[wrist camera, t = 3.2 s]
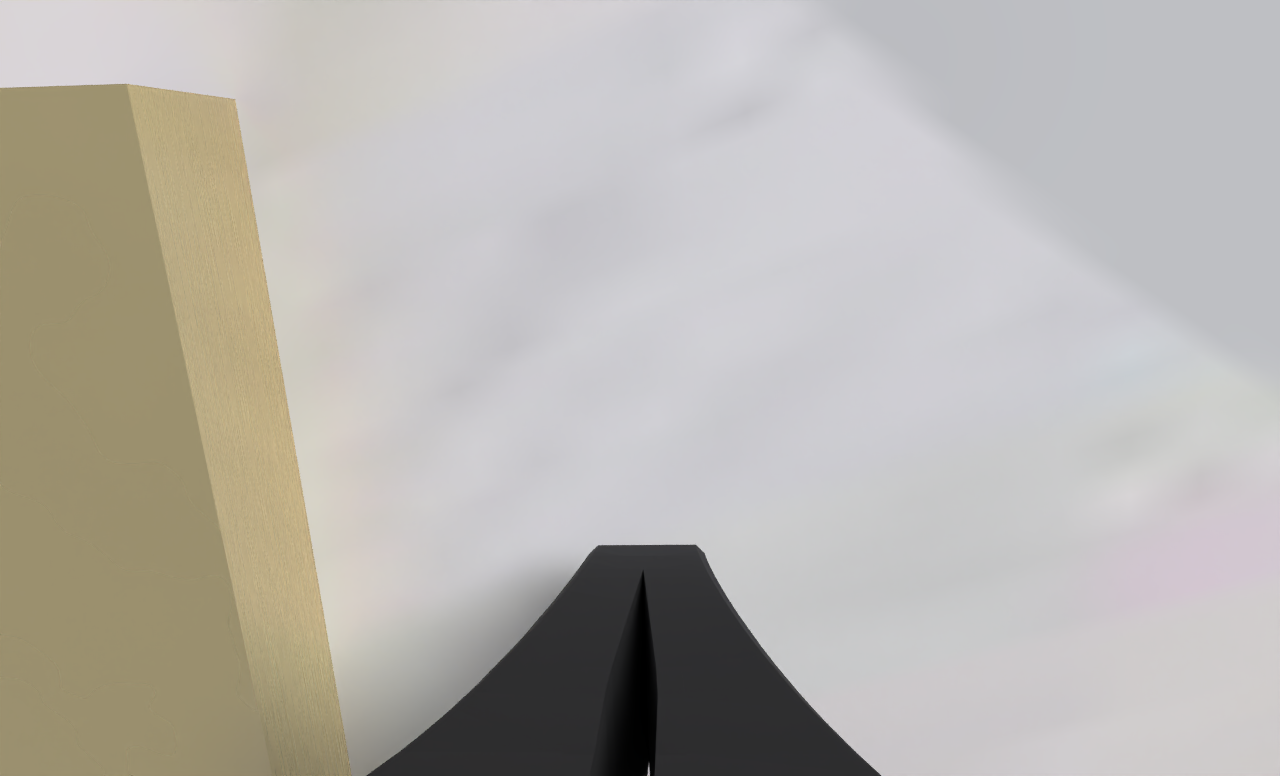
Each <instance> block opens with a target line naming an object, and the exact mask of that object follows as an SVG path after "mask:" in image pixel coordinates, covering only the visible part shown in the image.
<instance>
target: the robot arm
mask: <svg viewBox="0 0 1280 776" xmlns="http://www.w3.org/2000/svg"><path fill="white" fill-rule="evenodd" d="M648 765H649V767H650V776H881V775H880V774H879V773H878V772H877V771H876V770H875V769H873V768H872V767H871V766H870V765H869V764H868V763H867V762H866V761H865V760H864V759H863V758H861V757H860V756H859V755H858V754H857V753H856V752H855V751H854V750H853V749H852V748H851V747H850V746H849V745H848V744H847V743H846V742H845V741H844V740H843V739H842V738H841V737H840V736H839V735H838V734H837V733H836V732H835V731H834V730H833V729H832V728H831V727H830V726H829V725H828V724H827V723H826V722H825V721H824V720H823V719H822V718H821V717H820V716H819V714H818V713H817V712H816V711H815V710H814V709H813V708H812V707H811V706H810V705H809V704H808V702H807V701H806V700H805V699H804V698H803V697H802V696H801V695H800V693H799V692H798V691H797V690H796V689H795V688H794V686H793V685H792V684H791V683H790V682H789V680H788V679H787V678H786V677H785V676H784V674H783V673H782V672H781V671H780V670H779V669H778V667H777V666H776V665H775V664H774V662H773V661H772V660H771V659H770V657H769V656H768V655H767V653H766V652H765V651H764V649H763V648H762V647H761V646H760V644H759V643H758V641H757V640H756V639H755V637H754V636H753V634H752V633H751V632H750V630H749V629H748V627H747V626H746V625H745V623H744V622H743V620H742V619H741V618H740V616H739V615H738V613H737V612H736V610H735V609H734V607H733V606H732V604H731V603H730V601H729V599H728V598H727V596H726V594H725V593H724V591H723V589H722V588H721V586H720V584H719V583H718V581H717V579H716V577H715V576H714V574H713V572H712V570H711V568H710V566H709V563H708V561H707V559H706V556H705V553H704V552H703V551H702V550H701V549H700V548H699V547H698V546H696V545H598V546H597V547H596V548H595V549H594V550H593V551H592V552H591V553H590V554H589V555H588V557H587V558H586V559H585V561H584V562H583V564H582V565H581V566H580V568H579V569H578V570H577V572H576V573H575V575H574V576H573V577H572V579H571V580H570V581H569V582H568V584H567V585H566V586H565V588H564V589H563V590H562V591H561V593H560V594H559V595H558V596H557V598H556V599H555V600H554V601H553V603H552V604H551V605H550V606H549V607H548V609H547V610H546V611H545V612H544V613H543V614H542V616H541V617H540V618H539V619H538V620H537V621H536V623H535V624H534V625H533V626H532V627H531V629H530V630H529V631H528V632H527V633H526V634H525V635H524V637H523V638H522V639H521V640H520V641H519V642H518V643H517V644H516V645H515V646H514V647H513V648H512V649H511V651H510V652H509V653H508V654H507V655H506V656H505V657H504V658H503V659H502V660H501V661H500V662H499V663H498V664H497V665H496V666H495V667H494V668H493V669H492V670H491V671H490V672H489V673H488V674H487V675H486V676H485V677H484V678H483V679H482V680H481V681H480V682H479V683H478V684H477V685H476V686H475V687H474V688H473V689H472V690H471V691H470V692H469V693H468V694H467V695H466V696H465V697H464V698H463V699H461V700H460V701H459V702H458V703H457V704H456V705H455V706H454V707H453V708H452V709H451V710H449V711H448V712H447V713H446V714H445V715H444V716H443V717H442V718H440V719H439V720H438V721H437V722H436V723H435V724H433V725H432V726H431V727H430V728H429V729H427V730H426V731H425V732H424V733H423V734H421V735H420V736H419V737H418V738H417V739H415V740H414V741H413V742H411V743H410V744H409V745H408V746H406V747H405V748H404V749H403V750H401V751H400V752H399V753H397V754H396V755H394V756H393V757H392V758H390V759H389V760H387V761H386V762H385V763H383V764H382V765H381V766H379V767H378V768H376V769H375V770H374V771H372V772H371V773H369V774H368V775H367V776H647V774H648Z"/></svg>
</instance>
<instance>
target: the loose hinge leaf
mask: <svg viewBox="0 0 1280 776" xmlns="http://www.w3.org/2000/svg"><path fill="white" fill-rule="evenodd" d="M0 776H351V770H350V764H349V758H348V753H347V747H346V741H345V735H344V729H343V724H342V718H341V712H340V706H339V700H338V694H337V689H336V683H335V677H334V671H333V665H332V660H331V654H330V648H329V642H328V636H327V631H326V625H325V619H324V613H323V607H322V602H321V596H320V590H319V584H318V578H317V573H316V567H315V561H314V555H313V549H312V544H311V538H310V532H309V526H308V520H307V515H306V509H305V503H304V497H303V491H302V485H301V480H300V474H299V468H298V462H297V456H296V451H295V445H294V439H293V433H292V427H291V422H290V416H289V410H288V404H287V398H286V393H285V387H284V381H283V375H282V369H281V364H280V358H279V352H278V346H277V340H276V335H275V329H274V323H273V317H272V311H271V306H270V300H269V294H268V288H267V282H266V276H265V271H264V265H263V259H262V253H261V247H260V242H259V236H258V230H257V224H256V218H255V213H254V207H253V201H252V195H251V189H250V184H249V178H248V172H247V166H246V160H245V155H244V149H243V143H242V137H241V131H240V126H239V120H238V114H237V108H236V102H235V99H230V98H223V97H216V96H208V95H201V94H194V93H187V92H180V91H173V90H166V89H159V88H152V87H145V86H138V85H130V84H110V85H79V86H48V87H17V88H0Z"/></svg>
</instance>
